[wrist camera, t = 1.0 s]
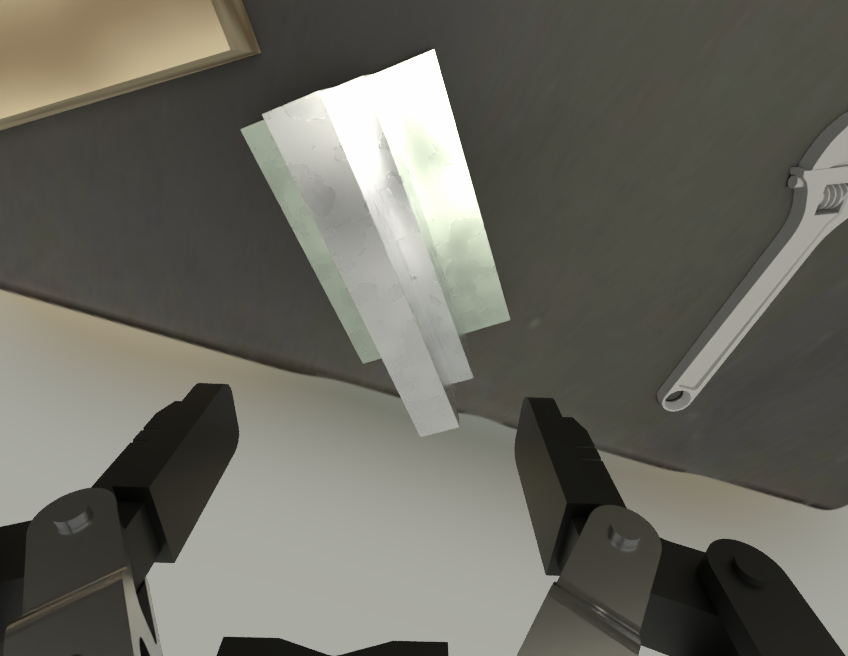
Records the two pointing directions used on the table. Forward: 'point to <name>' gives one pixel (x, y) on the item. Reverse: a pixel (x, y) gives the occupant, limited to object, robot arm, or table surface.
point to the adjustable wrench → (772, 261)
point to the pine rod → (109, 49)
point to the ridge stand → (389, 225)
